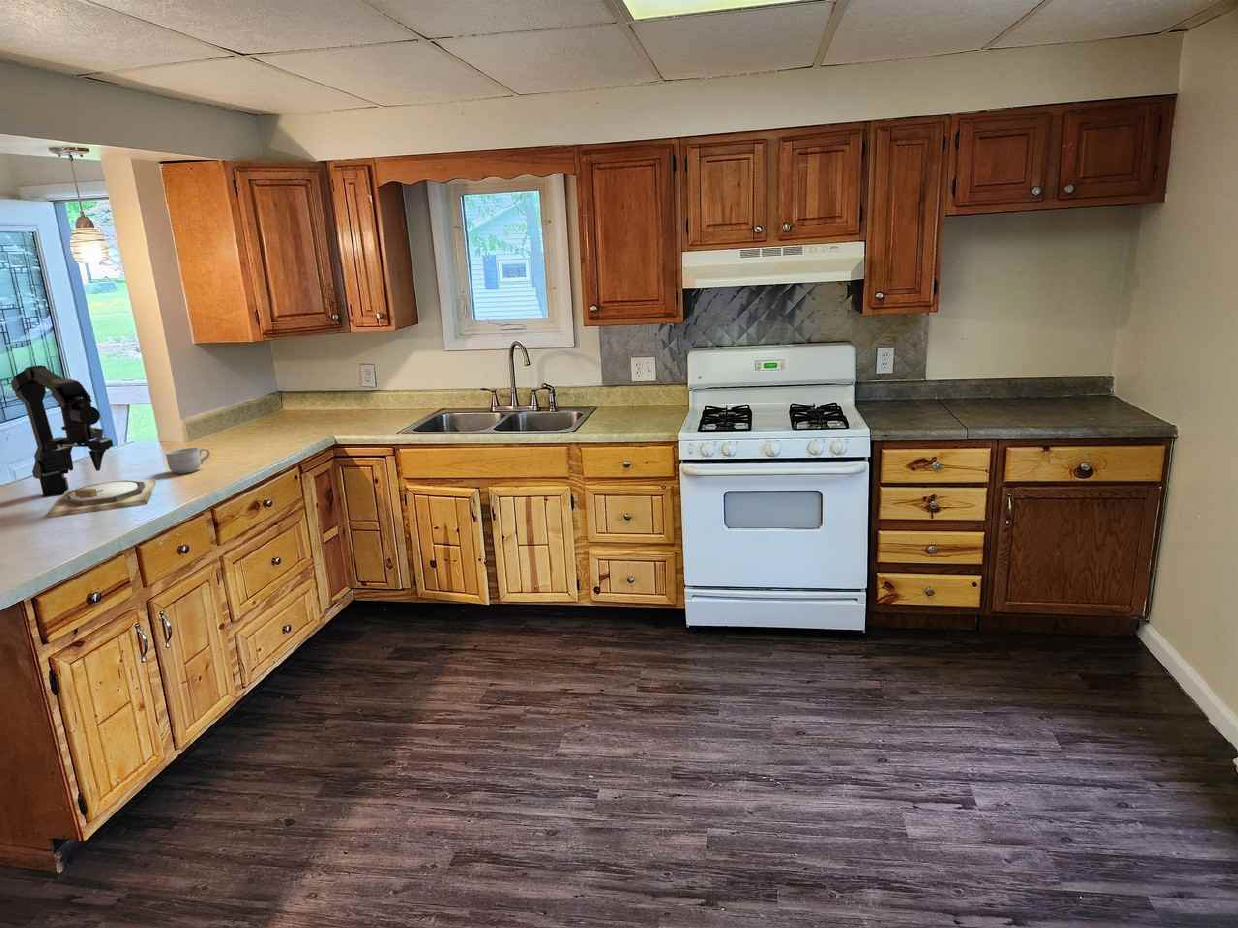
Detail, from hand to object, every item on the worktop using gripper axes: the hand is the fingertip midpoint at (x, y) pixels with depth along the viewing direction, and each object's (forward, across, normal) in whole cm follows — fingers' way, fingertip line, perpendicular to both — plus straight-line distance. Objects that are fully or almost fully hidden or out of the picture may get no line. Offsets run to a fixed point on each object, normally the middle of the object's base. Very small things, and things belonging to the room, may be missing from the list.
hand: (84, 470), depth 252 cm
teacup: (+11, -9, -37) cm, 40 cm away
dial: (+9, -3, -3) cm, 10 cm away
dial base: (+11, -3, -3) cm, 11 cm away
